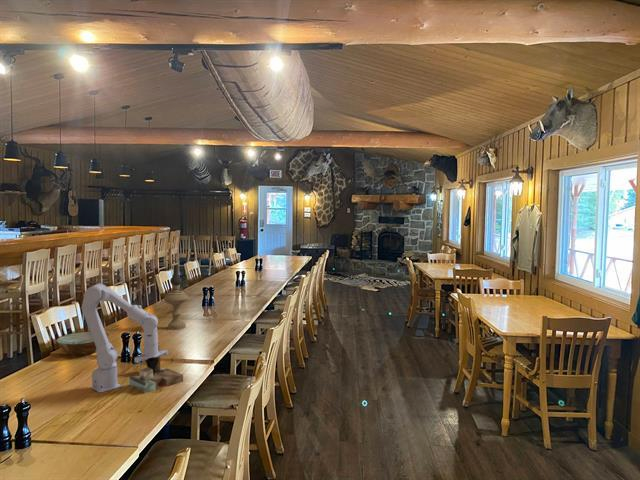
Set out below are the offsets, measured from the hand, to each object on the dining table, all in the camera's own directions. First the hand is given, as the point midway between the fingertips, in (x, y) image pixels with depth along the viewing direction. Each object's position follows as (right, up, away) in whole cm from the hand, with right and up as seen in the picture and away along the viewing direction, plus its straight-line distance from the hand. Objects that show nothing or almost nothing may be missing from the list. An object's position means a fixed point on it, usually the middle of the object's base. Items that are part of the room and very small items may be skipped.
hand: (152, 374), depth 207 cm
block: (-2, -1, -2) cm, 3 cm away
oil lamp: (-20, +2, +100) cm, 102 cm away
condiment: (-5, -4, +18) cm, 19 cm away
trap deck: (+1, -4, +2) cm, 5 cm away
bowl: (-53, -2, +47) cm, 71 cm away
